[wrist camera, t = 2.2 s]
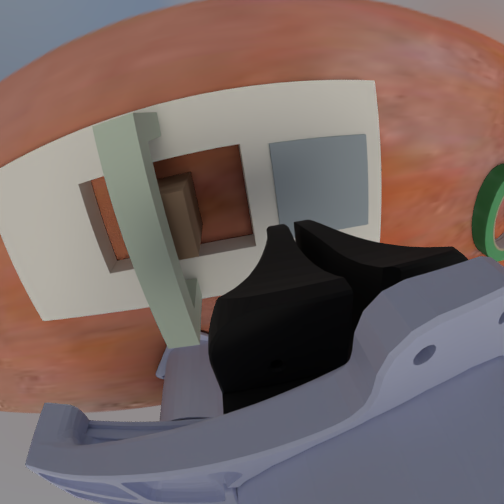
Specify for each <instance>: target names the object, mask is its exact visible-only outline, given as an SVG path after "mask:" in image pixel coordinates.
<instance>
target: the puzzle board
mask: <svg viewBox="0 0 504 504" xmlns="http://www.w3.org/2000/svg"><path fill="white" fill-rule="evenodd" d="M144 112H157V117H158V122H159V127H160V132H161V136H160V137H158V138H155V139H153V140H150V141H148V144H149V149H150V153H151V158H152V162H156V161H160V160H164V159H168V158H172V157H176V156H181V155H185V154H190V153H194V152H199V151H204V150H209V149H214V148H219V147H225V146H230V145H236V144H238V146H239V152H240V158H241V164H242V170H243V176H244V182H245V188H246V194H247V200H248V206H249V213H250V219H251V225H252V231H253V234H252V235H246V236H241V237H236V238H230V239H225V240H220V241H214V242H209V243H204V244H200V252H199V257H194V258H188V259H183V260H179V263H180V266H181V269H182V272H183V275H184V279H185V280H191V279H197V280H198V283H199V287H200V290H201V293H202V299H203V298H209V297H214V296H220V295H224V294H226V293H227V292H229V291H231V290H232V289H234V288H235V287H237V286H238V285H239V284H240V283H242V282H243V281H244V280H245V279H246V278H247V277H248V276H249V275H250V274H251V272H252V271H253V270H254V268H255V267H256V265H257V264H258V262H259V260H260V258H261V256H262V253H263V251H264V248H265V245H266V241H267V231H266V229H267V228H268V227H269V226H273V225H279V224H285V225H287V226H288V227H289V229H290V231H291V233H292V235H293V238H294V240H295V232H294V222H296V221H302V220H313V221H315V222H318V223H321V224H323V225H326V226H328V227H331V228H333V229H336V230H338V231H341V232H344V233H346V234H349V235H352V236H355V237H359V238H362V239H366V240H370V241H374V242H379V243H380V226H381V151H380V132H379V119H378V107H377V97H376V88H375V81H372V80H315V81H296V82H283V83H272V84H263V85H255V86H247V87H240V88H233V89H227V90H221V91H215V92H210V93H205V94H200V95H195V96H190V97H186V98H181V99H177V100H173V101H169V102H165V103H161V104H157V105H153V106H150V107H146V108H143V109H139V110H136V111H133V112H129V113H126V114H123V115H120V116H117V117H114V118H111V119H108V120H105V121H102V122H100V123H103V122H106V121H109V120H112V119H115V118H118V117H121V116H124V115H127V114H130V113H144ZM100 123H97V124H94V125H91V126H89V127H86V128H84V129H81V130H79V131H76V132H74V133H71V134H69V135H66V136H64V137H62V138H59V139H57V140H55V141H53V142H50V143H48V144H46V145H44V146H42V147H40V148H38V149H36V150H34V151H32V152H30V153H28V154H26V155H24V156H22V157H20V158H18V159H16V160H14V161H12V162H11V163H9V164H7V165H5V166H3V167H2V168H0V234H1V237H2V239H3V242H4V244H5V246H6V249H7V251H8V254H9V256H10V258H11V260H12V263H13V265H14V267H15V269H16V271H17V273H18V275H19V278H20V280H21V282H22V284H23V286H24V287H25V289H26V291H27V293H28V295H29V297H30V299H31V301H32V303H33V304H34V306H35V308H36V310H37V311H38V313H39V315H40V317H41V318H42V320H43V321H48V320H57V319H66V318H74V317H82V316H90V315H98V314H105V313H112V312H120V311H127V310H133V309H140V308H147V307H149V304H148V302H147V300H146V297H145V295H144V292H143V290H142V288H141V285H140V283H139V280H138V277H137V275H136V272H135V270H134V267H133V264H132V262H131V259H130V258H128V259H123V260H118V261H117V259H116V256H115V254H114V251H113V248H112V245H111V243H110V240H109V237H108V234H107V231H106V229H105V226H104V223H103V220H102V217H101V214H100V210H99V207H98V204H97V201H96V198H95V194H94V191H93V187H92V184H91V180H93V179H96V178H99V177H102V176H104V174H103V170H102V166H101V162H100V158H99V154H98V150H97V146H96V142H95V137H94V133H93V128H92V126H95V125H98V124H100Z"/></svg>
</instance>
